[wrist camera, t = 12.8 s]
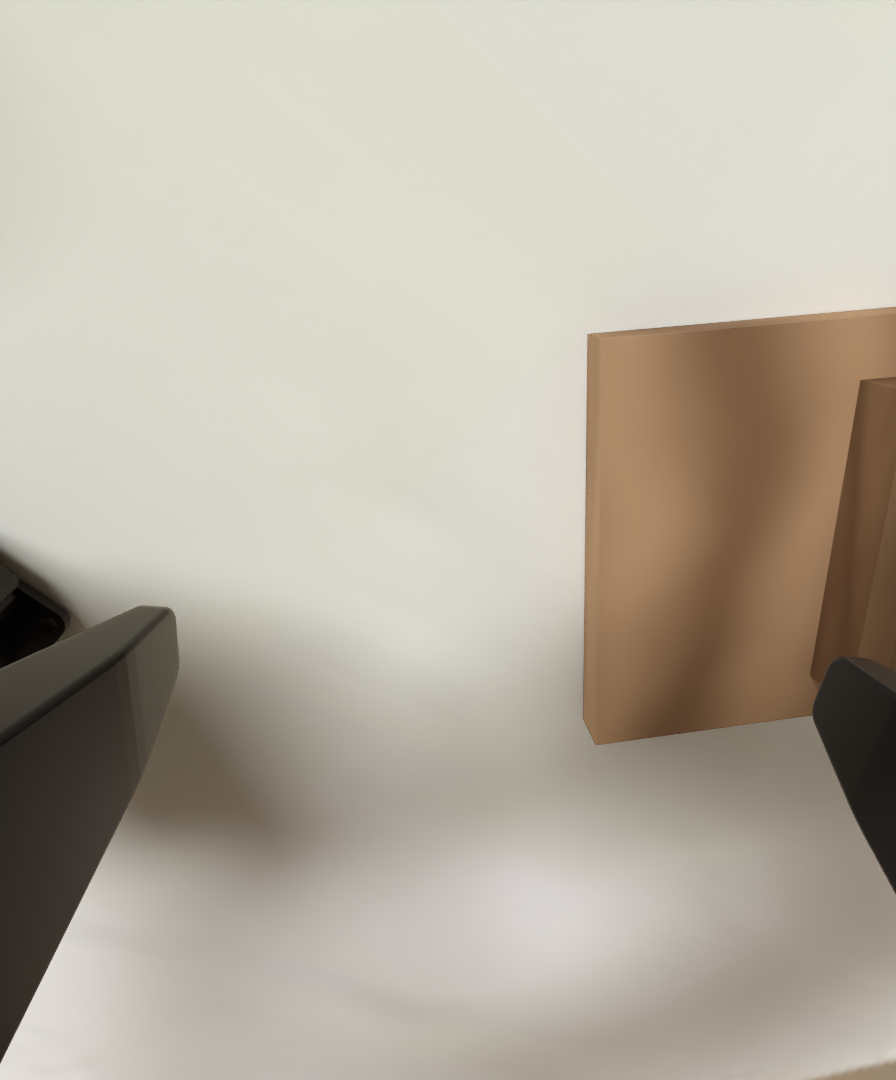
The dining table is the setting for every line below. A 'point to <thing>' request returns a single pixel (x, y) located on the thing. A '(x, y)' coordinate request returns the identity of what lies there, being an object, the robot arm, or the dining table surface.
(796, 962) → the dining table surface
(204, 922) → the dining table surface
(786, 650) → the walnut base
